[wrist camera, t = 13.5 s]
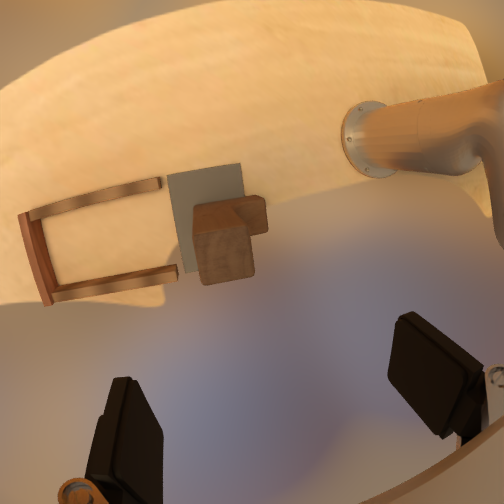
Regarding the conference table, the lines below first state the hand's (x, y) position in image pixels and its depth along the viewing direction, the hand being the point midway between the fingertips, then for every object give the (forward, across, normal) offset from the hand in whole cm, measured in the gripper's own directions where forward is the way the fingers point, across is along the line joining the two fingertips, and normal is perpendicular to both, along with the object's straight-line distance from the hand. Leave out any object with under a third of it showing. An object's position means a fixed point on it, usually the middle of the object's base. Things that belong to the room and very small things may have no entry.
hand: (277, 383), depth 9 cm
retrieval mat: (+33, +1, 0) cm, 33 cm away
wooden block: (+33, -2, 0) cm, 33 cm away
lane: (+33, +17, 0) cm, 37 cm away
